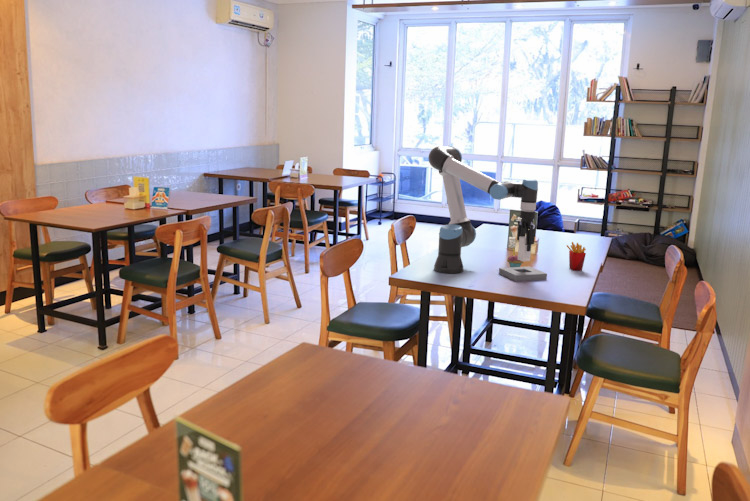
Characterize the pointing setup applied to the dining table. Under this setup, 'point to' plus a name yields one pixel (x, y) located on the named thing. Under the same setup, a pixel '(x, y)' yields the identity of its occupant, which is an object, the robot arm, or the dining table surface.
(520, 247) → the plug
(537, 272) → the socket
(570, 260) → the french fries
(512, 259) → the cupcake
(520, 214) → the robot arm
